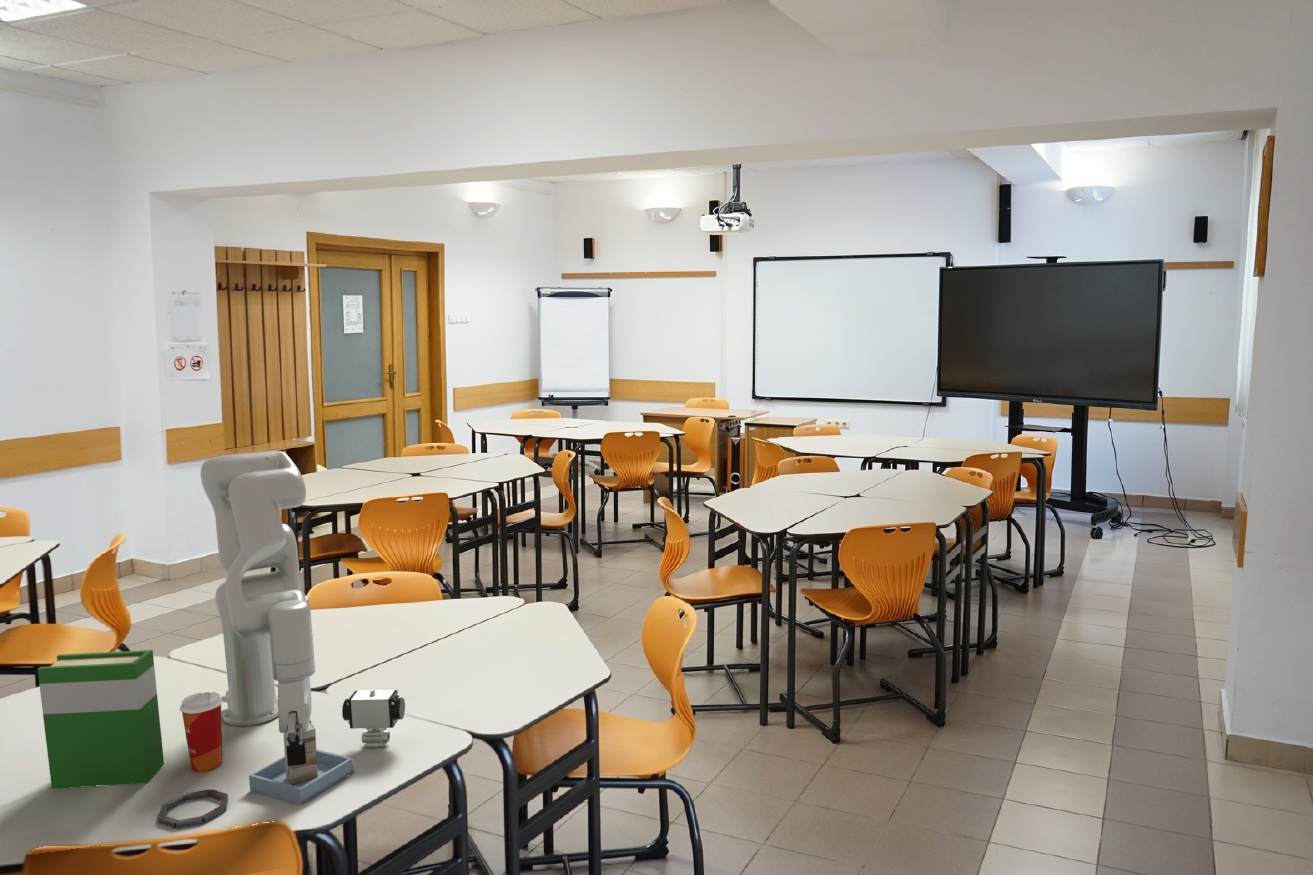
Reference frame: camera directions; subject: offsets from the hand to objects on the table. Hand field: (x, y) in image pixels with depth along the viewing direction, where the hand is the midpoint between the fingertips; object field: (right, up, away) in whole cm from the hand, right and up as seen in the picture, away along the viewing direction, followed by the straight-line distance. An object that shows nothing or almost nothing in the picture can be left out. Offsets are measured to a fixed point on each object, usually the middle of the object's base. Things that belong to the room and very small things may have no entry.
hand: (300, 752), depth 180 cm
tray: (0, -6, +1) cm, 6 cm away
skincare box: (0, -5, +1) cm, 6 cm away
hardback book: (-39, -6, +5) cm, 40 cm away
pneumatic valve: (+10, -4, +16) cm, 19 cm away
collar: (-16, -8, -9) cm, 20 cm away
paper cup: (-22, -6, +8) cm, 24 cm away
